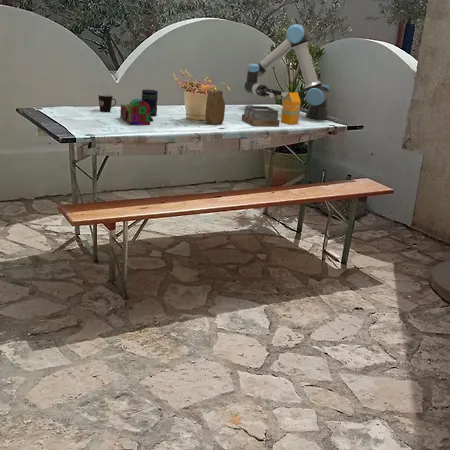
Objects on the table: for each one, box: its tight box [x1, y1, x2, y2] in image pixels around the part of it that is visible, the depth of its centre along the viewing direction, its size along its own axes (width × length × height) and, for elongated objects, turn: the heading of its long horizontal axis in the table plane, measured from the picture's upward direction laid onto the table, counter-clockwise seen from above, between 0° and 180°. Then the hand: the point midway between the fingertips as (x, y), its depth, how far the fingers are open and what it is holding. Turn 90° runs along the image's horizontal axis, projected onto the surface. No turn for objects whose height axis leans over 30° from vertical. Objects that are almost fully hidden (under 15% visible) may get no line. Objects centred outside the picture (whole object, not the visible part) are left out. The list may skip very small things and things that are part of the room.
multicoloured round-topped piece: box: [120, 98, 154, 126], centre depth 351 cm, size 25×17×14 cm
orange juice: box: [280, 91, 302, 125], centre depth 386 cm, size 8×9×20 cm
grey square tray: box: [241, 105, 281, 127], centre depth 378 cm, size 18×18×10 cm
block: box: [204, 89, 226, 125], centre depth 362 cm, size 11×8×20 cm
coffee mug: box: [98, 93, 117, 113], centre depth 368 cm, size 12×9×10 cm
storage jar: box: [141, 89, 159, 118], centre depth 370 cm, size 10×10×15 cm
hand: (280, 95), depth 391 cm, fingers open, 13 cm apart
